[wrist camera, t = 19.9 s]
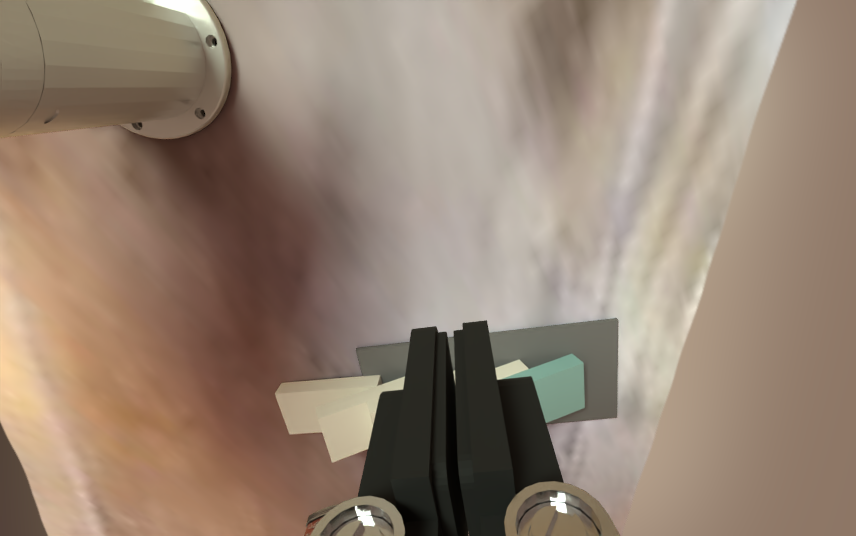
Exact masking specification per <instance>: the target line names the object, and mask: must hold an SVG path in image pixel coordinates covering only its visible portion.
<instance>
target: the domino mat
mask: <svg viewBox="0 0 856 536" xmlns="http://www.w3.org/2000/svg"><path fill="white" fill-rule="evenodd" d="M489 336H490V342H491V347H492V353H493V359H494V365H495V368H497V367H499V366H502V365H505V364H508V363H511V362H513V361H516V360H520V361H521V362H522V363H523V364H524V365H526V366H527V367H528V368H529V369H531V368H533V367H536V366H539V365H542V364H544V363H547V362H550V361H553V360H556V359H558V358H561V357H564V356H567V355H569V354H573V355H575V356H576V357H577V358H578V359H580V360H581V361H582V362H583V363H584V397H585V408H583V409H580V410H578V411H575V412H573V413H570V414H568V415H565V416H563V417H560V418H558V419H555V420H553V421H550V422H548V423H546V424H552V423H563V422H574V421H584V420H595V419H606V418H617V366H618V319H617V318H614V319H606V320H597V321H588V322H580V323H571V324H562V325H553V326H545V327H536V328H527V329H519V330H510V331H501V332H493V333H489ZM448 343H449V349H450V355H451V361H452V367H453V371H454V370H455V357H454V337H449V338H448ZM409 344H410V342H406V343H397V344H388V345H379V346H371V347H362V348H356V353H357V357H358V360H359V364H360V368H361V372H362V376H373V375H380V376H381V380H382V384H384V383H387V382H390V381H393V380H396V379H399V378H402V377H404V376H405V372H406V365H407V358H408V351H409Z"/></svg>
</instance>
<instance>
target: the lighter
mask: <svg viewBox="0 0 856 536" xmlns="http://www.w3.org/2000/svg"><path fill="white" fill-rule="evenodd" d="M337 505H339V504H337ZM337 505H333V506H330V507H327V508H324V509H322V510H319V511H317V512H315V513H313V514H312V515H310V516H309V518H308V521H307V524H306V527H307V529H306V532H305V535H304V536H310V535H311V533H312V532H313V530H314V528H315V527H316V525H317V523H318V522H319V521H320V520H321V519H322V518H323V517H324V516H325V515H326V514H327V513H328V512H329V511H330V510H331V509H333V508H334V507H336V506H337Z"/></svg>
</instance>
